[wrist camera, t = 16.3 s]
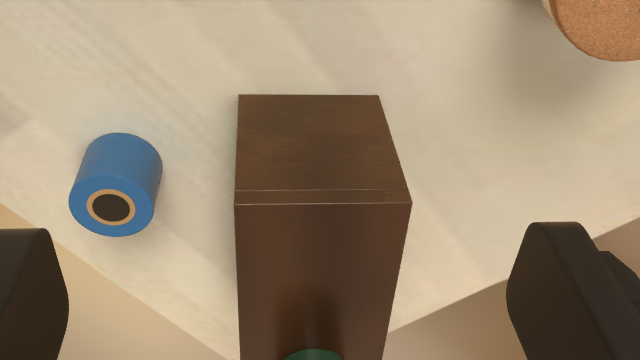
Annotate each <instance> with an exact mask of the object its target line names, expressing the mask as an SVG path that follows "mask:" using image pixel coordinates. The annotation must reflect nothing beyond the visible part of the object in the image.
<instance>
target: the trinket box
mask: <svg viewBox="0 0 640 360" xmlns="http://www.w3.org/2000/svg"><path fill="white" fill-rule="evenodd" d="M541 2H542V4H543V6H544V7H545V9H546V11H547V12H548V13H549V15H550V16H551V18H552V19H553V20H554V21H555V23H556V24H557V26H558V27H559V29H560V30H561V32H562V33H563V34H564V36H565V37H566V38H567V39H568V40H569V41H570V42H571V43H572V44H573V45H574V46H575V47H577V48H578V49H579V50H581V51H583V52H584V53H586V54H588V55H590V56H593V57H596V58H598V59H603V60H609V61H633V60H640V0H541Z"/></svg>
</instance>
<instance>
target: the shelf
mask: <svg viewBox="0 0 640 360" xmlns="http://www.w3.org/2000/svg"><path fill="white" fill-rule="evenodd" d="M411 208H412V199H411V196H410V193H409V190H408V187H407V183H406V180H405V177H404V174H403V171H402V168H401V165H400V161H399V158H398V155H397V152H396V149H395V146H394V143H393V140H392V136H391V133H390V130H389V127H388V124H387V121H386V118H385V114H384V111H383V108H382V105H381V102H380V99H379V96H367V95H239V100H238V122H237V145H236V168H235V192H234V219H235V243H236V267H237V291H238V315H239V338H240V360H283V359H284V358H285V357H287V356H288V355H290V354H292V353H295V352H297V351H301V350H305V349H325V350H329V351H332V352H335V353H337V354H338V355H340V356H341V357H342V358H343V359H344V360H382V356H383V351H384V346H385V341H386V336H387V331H388V326H389V321H390V315H391V310H392V305H393V300H394V295H395V290H396V285H397V280H398V274H399V269H400V264H401V259H402V254H403V249H404V244H405V238H406V233H407V228H408V223H409V218H410V213H411Z"/></svg>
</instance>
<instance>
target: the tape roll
mask: <svg viewBox="0 0 640 360" xmlns="http://www.w3.org/2000/svg"><path fill="white" fill-rule="evenodd" d="M161 173H162V162H161V159H160V156H159V154H158V153H157V151H156V150H155V149H154V148H153V147H152V146H151V145H150V144H149V143H148V142H146V141H145V140H143V139H141V138H139V137H136V136H134V135H130V134H124V133H112V134H107V135H104V136H101V137H99V138H98V139H96V140H94V141H93V142H92V143H91V144H90V145H89V147H88V148H87V150H86V153H85V156H84V158H83V161H82V163H81V166H80V169H79V171H78V174H77V176H76V179H75V182H74V184H73V187H72V189H71V192H70V195H69V208H70V211H71V213H72V215H73V216H74V218H75V219H76V220H77V221H78V222H79V223H80V224H81V225H82V226H84V227H85V228H87V229H88V230H90V231H92V232H95V233H97V234H101V235H105V236H111V237H122V236H128V235H132V234H135V233H137V232H139V231H141V230H142V229H144V228H145V227H146V226H147V225H148V224H149V222H150V221H151V219H152V216H153V212H154V207H155V203H156V198H157V193H158V188H159V183H160V178H161Z"/></svg>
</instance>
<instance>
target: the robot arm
mask: <svg viewBox="0 0 640 360" xmlns="http://www.w3.org/2000/svg"><path fill="white" fill-rule="evenodd" d="M506 301H507V308H508V312H509V316H510V319H511V321H512V324H513V326H514V328H515V331H516V333H517V335H518V338H519V340H520V343H521V345H522V347H523V350H524V352H525V354H526V357H527V359H528V360H640V279H639V278H638V277H637V275H636V274H635V273H634V272H633V271H632V270H631V269H630V268H628V267H627V266H626V265H625V264H624V263H622V262H621V261H620V260H619V259H617V258H616V257H615V256H614V255H613V254H612V253H610V252H609V251H598V249H597V248H596V246H595V244H594V243H593V241H592V239H591V238H590V236H589V235H588V233H587V232H586V230H585V229H584V227H583V226H582V225H581V224H580V223H578V222H534V223H531V224H530V225H529V226H528V228H527V230H526V232H525V235H524V238H523V241H522V244H521V246H520V249H519V252H518V255H517V257H516V260H515V263H514V266H513V269H512V271H511V274H510V277H509V280H508V283H507V290H506ZM68 314H69V300H68V293H67V289H66V286H65V282H64V279H63V276H62V272H61V269H60V265H59V262H58V259H57V255H56V252H55V249H54V245H53V242H52V239H51V236H50V234H49V232H48V231H47V230H46V229H44V228H33V229H0V360H57V358H58V354H59V351H60V348H61V345H62V341H63V338H64V335H65V331H66V327H67V322H68Z"/></svg>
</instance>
